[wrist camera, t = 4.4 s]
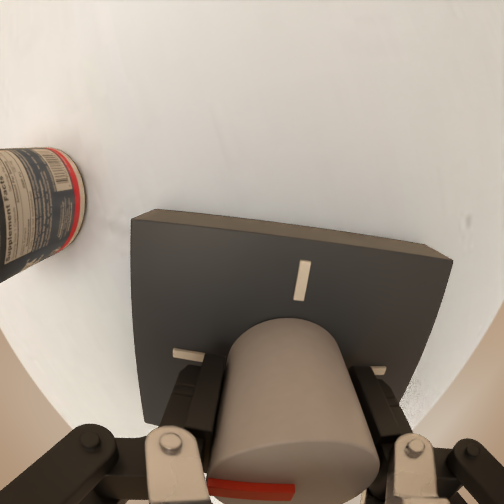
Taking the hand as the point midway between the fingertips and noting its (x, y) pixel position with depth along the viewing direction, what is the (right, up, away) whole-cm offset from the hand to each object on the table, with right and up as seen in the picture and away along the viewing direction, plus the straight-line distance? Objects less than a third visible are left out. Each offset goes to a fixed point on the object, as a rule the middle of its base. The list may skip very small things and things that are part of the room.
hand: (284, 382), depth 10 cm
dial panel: (0, +1, +3) cm, 4 cm away
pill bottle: (-11, +7, +2) cm, 14 cm away
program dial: (0, 0, +1) cm, 1 cm away
